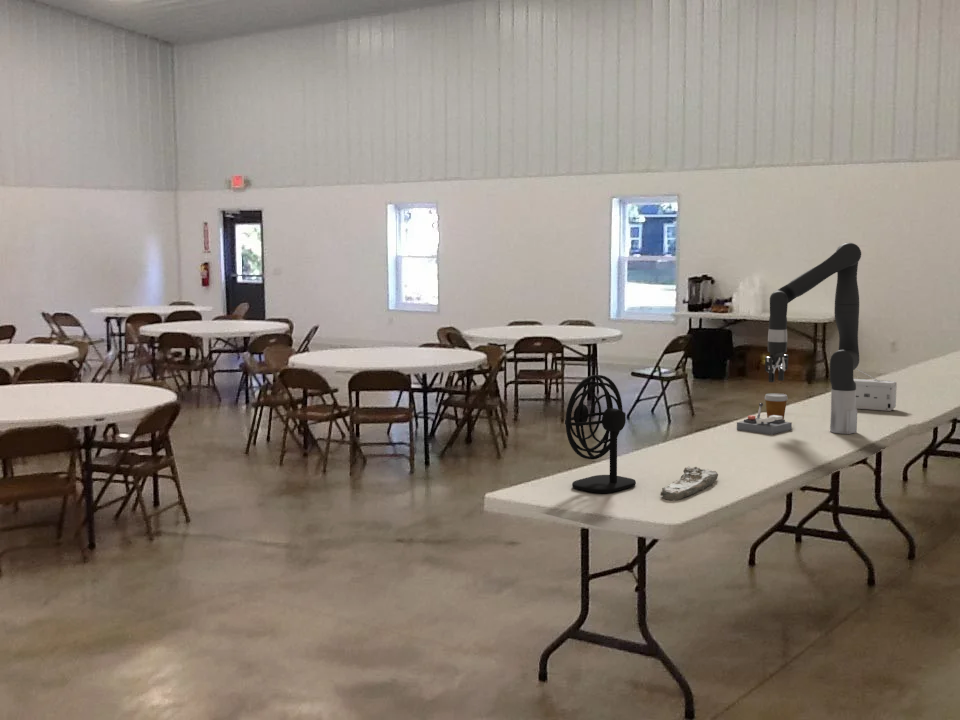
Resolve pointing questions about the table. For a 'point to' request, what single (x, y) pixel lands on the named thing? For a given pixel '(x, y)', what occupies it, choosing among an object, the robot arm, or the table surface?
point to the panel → (764, 426)
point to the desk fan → (611, 423)
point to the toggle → (759, 410)
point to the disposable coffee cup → (775, 404)
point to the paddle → (776, 417)
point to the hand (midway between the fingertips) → (776, 381)
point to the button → (751, 417)
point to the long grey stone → (689, 483)
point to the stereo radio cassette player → (875, 394)
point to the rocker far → (765, 420)
